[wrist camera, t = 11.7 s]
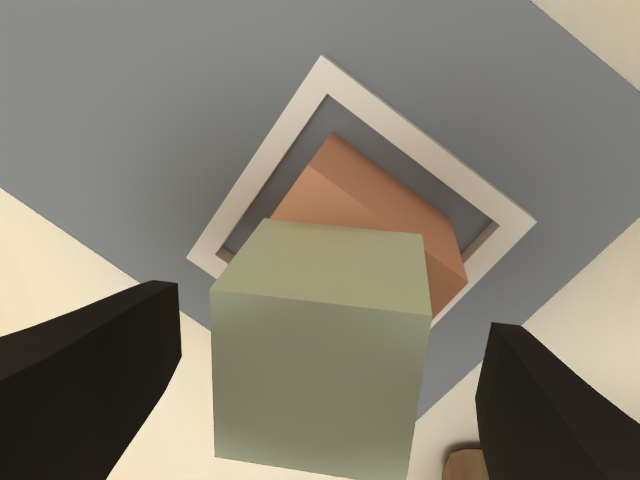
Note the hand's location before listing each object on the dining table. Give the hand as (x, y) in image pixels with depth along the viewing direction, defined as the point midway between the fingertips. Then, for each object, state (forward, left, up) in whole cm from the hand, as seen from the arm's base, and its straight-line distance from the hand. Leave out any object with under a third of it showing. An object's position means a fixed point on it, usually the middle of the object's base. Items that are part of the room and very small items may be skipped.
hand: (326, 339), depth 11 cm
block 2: (0, 0, -2) cm, 2 cm away
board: (+4, -1, -8) cm, 9 cm away
